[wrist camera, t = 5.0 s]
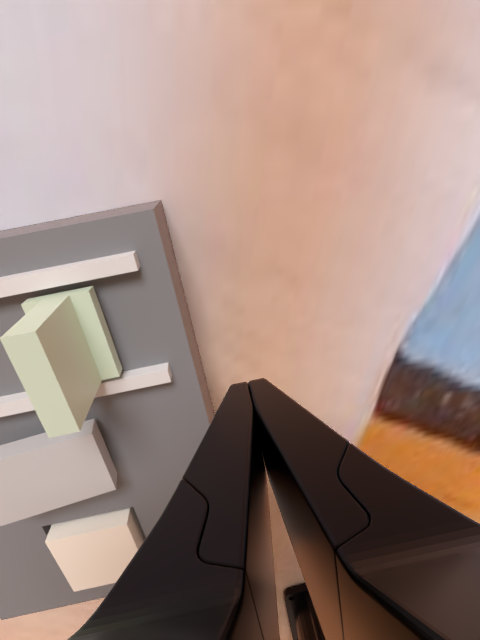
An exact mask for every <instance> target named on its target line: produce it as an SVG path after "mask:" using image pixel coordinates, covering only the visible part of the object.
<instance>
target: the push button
mask: <svg viewBox="0 0 480 640" xmlns="http://www.w3.org/2000/svg"><path fill="white" fill-rule="evenodd" d="M145 539H146V536H145V534H144V532H143V529H142V527H141V524H140V522H139V520H138V517H137V515H136V512H135V510H134V508H133V507H131V508H126V509H122V510H117V511H112V512H108V513H103V514H98V515H94V516H89V517H84V518H80V519H75V520H70V521H66V522H61V523H56V524H52V525H51V528H50V530H49V533H48V535H47V538H46V540H45V543H46V545H47V547H48V548H49V550H50V552H51V553H52V555H53V557H54V559H55V560H56V562H57V564H58V565H59V567H60V569H61V571H62V572H63V574H64V576H65V577H66V579H67V581H68V582H69V584H70V586H71V588H72V589H73V591H74V592H75V591H80V590H85V589H89V588H94V587H98V586H103V585H107V584H112V583H116V582H117V580H118V579H119V577H120V576H121V574H122V573H123V571H124V570H125V568H126V567H127V565H128V564H129V563H130V561H131V560H132V558H133V557H134V555H135V554H136V552H137V551H138V549H139V548H140V546H141V545H142V544H143V542H144V541H145Z"/></svg>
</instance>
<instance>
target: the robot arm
mask: <svg viewBox="0 0 480 640" xmlns="http://www.w3.org/2000/svg"><path fill="white" fill-rule="evenodd" d="M248 385H249V386H248ZM262 453H263V454H262ZM263 458H264V459H263ZM264 463H265V464H264ZM265 467H266V470H265ZM266 471H267V474H268V477H269V481H270V483H271V486H272V489H273V492H274V495H275V498H276V500H277V503H278V506H279V509H280V512H281V515H282V517H283V520H284V523H285V526H286V529H287V532H288V534H289V537H290V540H291V543H292V546H293V549H294V551H295V554H296V557H297V560H298V563H299V566H300V568H301V571H302V574H303V577H304V580H305V583H306V585H301V586H297V587H292V588H288V589H286V590H285V591H284V597H285V602H286V607H287V612H288V617H289V622H290V627H291V631H292V636H293V640H480V524H479V523H477V522H475V521H473V520H472V519H470V518H468V517H466V516H465V515H463V514H461V513H460V512H458V511H456V510H455V509H453V508H451V507H450V506H448V505H446V504H444V503H443V502H441V501H439V500H438V499H436V498H434V497H433V496H431V495H429V494H428V493H426V492H424V491H423V490H421V489H419V488H418V487H416V486H414V485H412V484H411V483H409V482H407V481H406V480H404V479H403V478H401V477H399V476H398V475H396V474H395V473H393V472H391V471H390V470H388V469H387V468H385V467H383V466H382V465H381V464H379V463H378V462H376V461H375V460H373V459H372V458H371V457H369V456H368V455H366V454H365V453H364V452H362V451H361V450H360V449H358V448H357V447H356V446H354V445H353V444H350V443H349V441H347V440H346V439H345V438H343V437H342V436H341V435H339V434H338V433H337V432H335V431H334V430H333V429H331V428H330V427H329V426H327V425H326V424H325V423H323V422H322V421H321V420H319V419H318V418H317V417H315V416H314V415H313V414H311V413H310V412H309V411H307V410H306V409H305V408H303V407H302V406H301V405H299V404H298V403H297V402H295V401H294V400H293V399H291V398H290V397H289V396H287V395H286V394H285V393H284V392H282V391H281V390H280V389H278V388H277V387H276V386H274V385H273V384H272V383H270V382H269V381H268V380H266V379H264V378H261V379H257V380H252V381H249V383H247V382H242V383H237V384H233V385H231V386H230V388H229V390H228V392H227V393H226V395H225V397H224V399H223V401H222V403H221V405H220V407H219V409H218V411H217V412H216V414H215V416H214V418H213V420H212V422H211V424H210V426H209V428H208V430H207V431H206V433H205V435H204V437H203V439H202V441H201V443H200V445H199V447H198V448H197V450H196V452H195V454H194V456H193V458H192V460H191V462H190V464H189V466H188V467H187V469H186V471H185V473H184V475H183V477H182V480H180V482H179V484H178V486H177V488H176V490H175V492H174V494H173V495H172V497H171V499H170V501H169V502H168V504H167V506H166V508H165V509H164V511H163V513H162V515H161V516H160V518H159V519H158V521H157V522H156V524H155V525H154V527H153V528H152V530H151V532H150V533H149V535H148V536H147V538H146V539H145V541H144V542H143V544H142V545H141V546H140V548H139V549H138V551H137V552H136V554H135V555H134V557H133V558H132V560H131V561H130V563H129V564H128V565H127V567H126V568H125V570H124V571H123V573H122V574H121V576H120V577H119V579H118V580H117V582H116V583H115V584H114V586H113V587H112V589H111V590H110V592H109V593H108V595H107V596H106V598H105V599H104V600H103V602H102V603H101V605H100V606H99V607H98V609H97V610H96V611H95V612H94V614H93V615H92V616H91V617H90V618H89V620H88V621H87V622H86V623H85V624H84V625H83V626H82V627H81V628H80V629H79V630H78V631H77V632H76V633H75V634H74V635H72V636H71V637H70V638H69V639H68V640H280V636H279V623H278V611H277V598H276V586H275V574H274V561H273V549H272V537H271V524H270V512H269V499H268V487H267V477H266Z"/></svg>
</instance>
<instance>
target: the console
mask: <svg viewBox="0 0 480 640" xmlns="http://www.w3.org/2000/svg"><path fill="white" fill-rule="evenodd" d="M89 286H93V287H94V290H95V293H96V295H97V298H98V301H99V304H100V307H101V310H102V312H103V315H104V318H105V321H106V324H107V326H108V329H109V332H110V335H111V338H112V341H113V343H114V346H115V349H116V352H117V355H118V357H119V360H120V363H121V366H122V371H121V374H120V377H115V378H110V379H105V380H102V381H101V384H100V386H99V388H98V391H97V393H96V395H95V398H94V400H93V402H92V405H91V407H90V409H89V412H88V414H87V416H86V419H85V421H87V420H90V419H94V418H95V421H96V423H97V425H98V428H99V430H100V433H101V435H102V437H103V440H104V442H105V445H106V447H107V449H108V452H109V454H110V457H111V459H112V461H113V464H114V466H115V469H116V471H117V483H116V490H113V491H110V492H107V493H104V494H100V495H97V496H94V497H91V498H88V499H85V500H82V501H79V502H75V503H72V504H69V505H66V506H63V507H60V508H57V509H53V510H50V511H47V512H44V513H41V514H38V515H35V516H31V517H28V518H25V519H22V520H19V521H16V522H13V523H10V524H6V525H3V526H0V618H1V620H4V619H8V618H13V617H17V616H22V615H26V614H31V613H36V612H40V611H45V610H49V609H54V608H58V607H63V606H67V605H72V604H76V603H81V602H86V601H90V600H95V599H99V598H104V597H106V596H107V595H108V593H109V592H110V590H111V589H112V587H113V586H114V584H115V583H112V584H107V585H103V586H98V587H94V588H89V589H85V590H80V591H75V592H74V591H73V589H72V588H71V586H70V584H69V582H68V581H67V579H66V577H65V576H64V574H63V572H62V571H61V569H60V567H59V565H58V564H57V562H56V560H55V559H54V557H53V555H52V553H51V552H50V550H49V548H48V547H47V545H46V543H45V540H46V538H47V535H48V533H49V530H50V528H51V525H52V524H56V523H61V522H66V521H70V520H75V519H80V518H84V517H89V516H94V515H98V514H103V513H108V512H112V511H117V510H122V509H126V508H131V507H133V508H134V510H135V512H136V515H137V517H138V520H139V522H140V524H141V527H142V529H143V532H144V534H145V536H146V538H147V536H148V535H149V533H150V532H151V530H152V528H153V527H154V525H155V524H156V522H157V521H158V519H159V518H160V516H161V515H162V513H163V511H164V509H165V508H166V506H167V504H168V502H169V501H170V499H171V497H172V495H173V494H174V492H175V490H176V488H177V486H178V484H179V482H180V480H182V477H183V475H184V473H185V471H186V469H187V467H188V466H189V464H190V462H191V460H192V458H193V456H194V454H195V452H196V450H197V448H198V447H199V445H200V443H201V441H202V439H203V437H204V435H205V433H206V431H207V430H208V428H209V426H210V424H211V422H212V420H213V418H214V416H215V414H214V410H213V406H212V402H211V398H210V394H209V390H208V386H207V382H206V378H205V374H204V370H203V366H202V362H201V358H200V355H199V351H198V347H197V343H196V339H195V335H194V331H193V327H192V323H191V319H190V315H189V311H188V307H187V303H186V299H185V295H184V291H183V287H182V283H181V279H180V275H179V271H178V267H177V263H176V259H175V255H174V251H173V247H172V243H171V239H170V235H169V231H168V227H167V223H166V219H165V215H164V211H163V207H162V203H161V200H159V201H154V202H149V203H143V204H138V205H133V206H128V207H123V208H117V209H112V210H107V211H102V212H97V213H92V214H86V215H81V216H76V217H71V218H66V219H60V220H55V221H50V222H45V223H40V224H34V225H29V226H24V227H19V228H14V229H9V230H3V231H0V337H1V336H3V335H4V334H5V333H6V332H7V331H8V330H9V329H10V328H11V327H12V326H13V325H15V324H16V323H17V322H18V321H19V320H20V319H21V318H22V317H23V316H24V315H25V313H24V310H23V308H22V306H21V304H22V303H23V302H24V301H26V300H27V299H29V298H34V297H39V296H44V295H49V294H54V293H59V292H64V291H69V290H74V289H79V288H84V287H89ZM45 432H46V431H45V429H44V427H43V425H42V423H41V421H40V419H39V417H38V415H37V413H36V411H35V409H34V407H33V405H32V403H31V401H30V399H29V397H28V395H27V393H26V391H25V389H24V387H23V385H22V383H21V381H20V379H19V377H18V375H17V373H16V371H15V369H14V367H13V365H12V363H11V361H10V359H9V357H8V355H7V353H6V350H5V348H4V346H3V344H2V342H1V340H0V445H3V444H7V443H10V442H14V441H17V440H21V439H24V438H28V437H31V436H35V435H38V434H42V433H45Z"/></svg>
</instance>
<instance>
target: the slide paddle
mask: <svg viewBox="0 0 480 640" xmlns="http://www.w3.org/2000/svg"><path fill="white" fill-rule="evenodd" d="M21 306H22V308H23V310H24V313H25V315H24V316H23V317H22V318H21V319H20V320H19V321H18V322H17V323H16V324H15V325H13V326H12V327H11V328H10V329H9V330H8V331H7V332H6V333H5V334H4V335H3V336H1V337H0V340H1V342H2V344H3V346H4V348H5V350H6V353H7V355H8V357H9V359H10V361H11V363H12V365H13V367H14V369H15V371H16V373H17V375H18V377H19V379H20V381H21V383H22V385H23V387H24V389H25V391H26V393H27V395H28V397H29V399H30V401H31V403H32V405H33V407H34V409H35V411H36V413H37V415H38V417H39V419H40V421H41V423H42V425H43V427H44V429H45V431H46V433H47V435H48V437H49V438H51V437H56V436H60V435H65V434H70V433H75V432H80V430H81V428H82V426H83V423H84V421H85V419H86V416H87V414H88V412H89V409H90V407H91V405H92V402H93V400H94V398H95V395H96V393H97V391H98V388H99V386H100V384H101V381H102V380H105V379H110V378H115V377H120V374H121V371H122V366H121V363H120V360H119V357H118V355H117V352H116V349H115V346H114V343H113V341H112V338H111V335H110V332H109V329H108V326H107V324H106V321H105V318H104V315H103V312H102V310H101V307H100V304H99V301H98V298H97V295H96V293H95V290H94V287H93V286H89V287H84V288H79V289H74V290H69V291H64V292H59V293H54V294H49V295H44V296H39V297H34V298H29V299H27V300H26V301H24V302H23V303H22V304H21Z"/></svg>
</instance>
